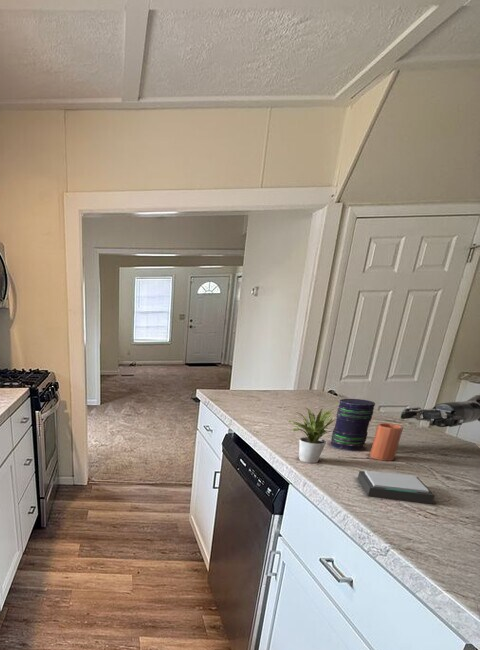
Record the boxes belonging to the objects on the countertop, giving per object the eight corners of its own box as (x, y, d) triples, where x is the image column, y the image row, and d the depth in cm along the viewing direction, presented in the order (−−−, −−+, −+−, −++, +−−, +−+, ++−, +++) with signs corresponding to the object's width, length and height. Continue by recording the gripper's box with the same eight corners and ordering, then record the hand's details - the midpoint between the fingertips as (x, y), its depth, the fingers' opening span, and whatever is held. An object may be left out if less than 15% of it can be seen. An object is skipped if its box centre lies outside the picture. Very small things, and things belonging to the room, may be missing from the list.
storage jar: (351, 441, 139) (361, 398, 133) (371, 450, 130) (383, 404, 124) (323, 442, 138) (332, 399, 132) (341, 451, 129) (352, 405, 123)
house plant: (298, 448, 132) (308, 399, 126) (342, 459, 122) (355, 406, 115) (274, 457, 124) (284, 405, 118) (320, 470, 114) (333, 413, 107)
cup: (390, 455, 125) (399, 424, 121) (396, 461, 120) (406, 429, 116) (367, 453, 127) (375, 422, 123) (372, 459, 122) (381, 427, 118)
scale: (415, 484, 104) (418, 474, 102) (432, 504, 93) (436, 493, 92) (357, 478, 108) (359, 468, 107) (367, 496, 97) (370, 485, 96)
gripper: (431, 398, 133) (397, 402, 127) (482, 406, 120) (446, 411, 115) (424, 420, 135) (390, 425, 130) (473, 431, 123) (438, 436, 118)
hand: (416, 418), depth 123 cm, fingers open, 8 cm apart
